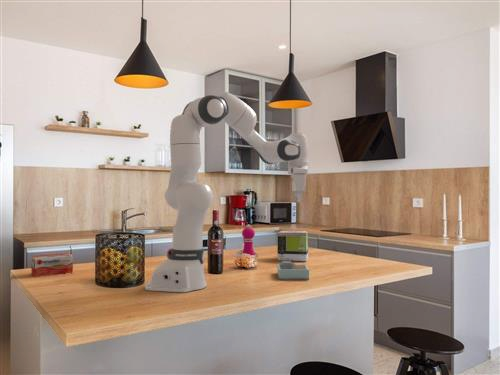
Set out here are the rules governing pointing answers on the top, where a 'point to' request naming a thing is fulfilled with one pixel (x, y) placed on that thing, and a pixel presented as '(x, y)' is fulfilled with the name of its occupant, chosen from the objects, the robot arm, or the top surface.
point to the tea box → (292, 245)
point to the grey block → (286, 265)
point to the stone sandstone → (298, 266)
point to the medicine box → (51, 264)
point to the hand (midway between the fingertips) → (298, 201)
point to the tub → (293, 273)
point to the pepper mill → (248, 240)
